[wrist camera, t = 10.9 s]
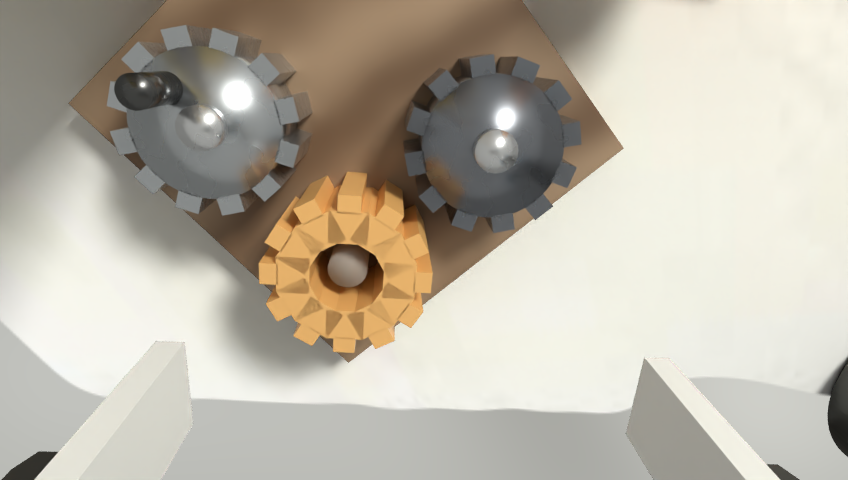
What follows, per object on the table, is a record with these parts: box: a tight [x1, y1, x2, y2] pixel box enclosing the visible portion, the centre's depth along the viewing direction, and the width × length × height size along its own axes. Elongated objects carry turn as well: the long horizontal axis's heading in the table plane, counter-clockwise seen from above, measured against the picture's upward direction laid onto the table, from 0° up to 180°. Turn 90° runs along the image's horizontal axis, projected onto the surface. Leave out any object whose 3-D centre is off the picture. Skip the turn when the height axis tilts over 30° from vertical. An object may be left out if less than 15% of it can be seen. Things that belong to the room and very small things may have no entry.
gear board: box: [69, 0, 623, 363], centre depth 26 cm, size 21×21×6 cm
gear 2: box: [403, 54, 581, 233], centre depth 25 cm, size 8×8×5 cm
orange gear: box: [259, 172, 433, 353], centre depth 27 cm, size 8×8×5 cm
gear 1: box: [107, 25, 313, 216], centre depth 23 cm, size 8×8×7 cm
